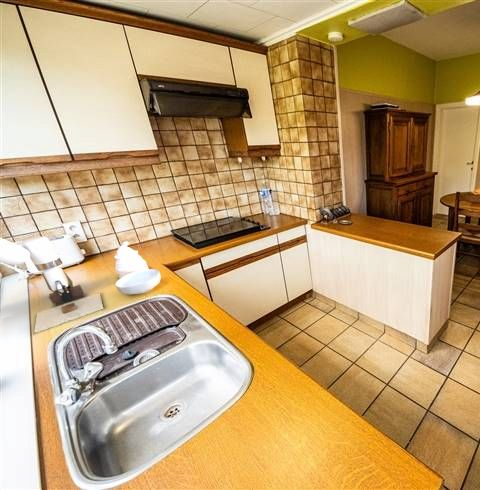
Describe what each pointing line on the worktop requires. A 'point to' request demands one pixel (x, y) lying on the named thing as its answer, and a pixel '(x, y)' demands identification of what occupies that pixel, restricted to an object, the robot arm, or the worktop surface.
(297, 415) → the worktop surface
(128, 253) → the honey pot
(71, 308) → the cork block
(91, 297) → the board
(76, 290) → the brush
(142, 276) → the cereal bowl
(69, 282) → the squeeze bottle
